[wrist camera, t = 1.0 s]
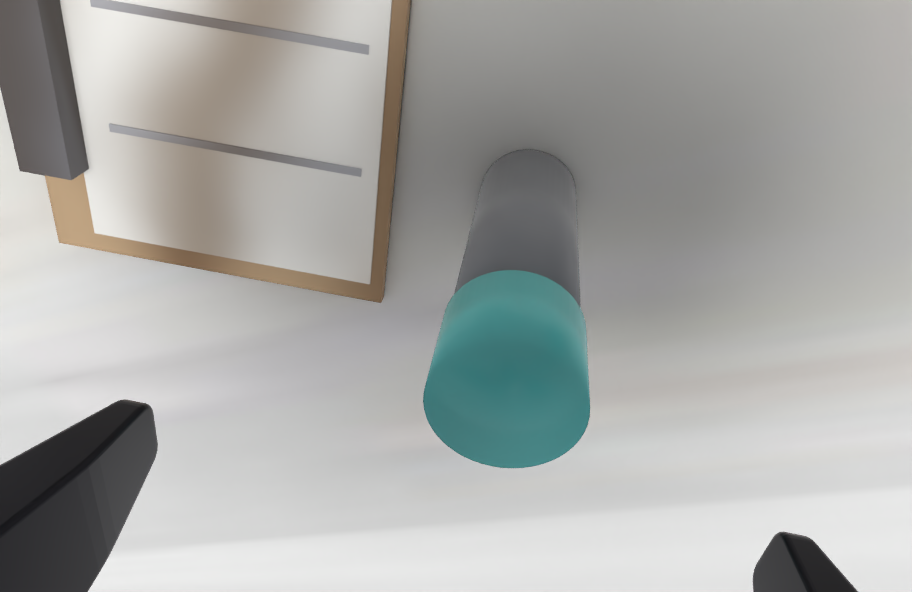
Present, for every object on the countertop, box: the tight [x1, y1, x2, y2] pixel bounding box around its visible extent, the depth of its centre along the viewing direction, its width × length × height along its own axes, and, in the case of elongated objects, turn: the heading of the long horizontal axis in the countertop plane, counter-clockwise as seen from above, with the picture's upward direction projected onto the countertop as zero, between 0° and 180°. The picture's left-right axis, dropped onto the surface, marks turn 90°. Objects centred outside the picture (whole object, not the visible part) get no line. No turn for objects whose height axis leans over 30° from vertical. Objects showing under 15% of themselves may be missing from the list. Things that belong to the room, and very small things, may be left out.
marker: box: [423, 150, 590, 468], centre depth 16 cm, size 3×3×9 cm
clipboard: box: [0, 0, 411, 303], centre depth 19 cm, size 11×12×1 cm
